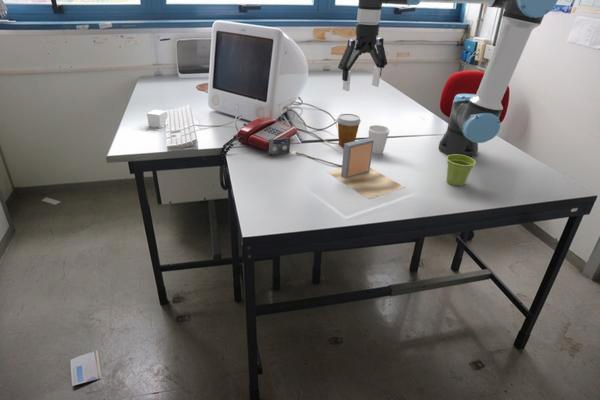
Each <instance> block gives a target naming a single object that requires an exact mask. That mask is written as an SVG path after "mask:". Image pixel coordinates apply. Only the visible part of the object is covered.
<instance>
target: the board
mask: <svg viewBox="0 0 600 400" xmlns="http://www.w3.org/2000/svg"><path fill="white" fill-rule="evenodd" d="M341 172H342V167H341V168H336V169H333V170H329V171H326V173H328V174H329V175H331V177H334V178H336V179H337V180H338V181H340V182H341V183H343V184H345V185H346V186H348V187H349V188H351V189H352V190H354V191H356V193H359V194H360V195H362V196H364V197H365V198H366V199H368V200H371V199H374V198H378V197H380V196H383V195H385V194H388V193H391V192H395V191H398V190H400V189H404V188H405V186H404V185H402V184H400V183H398V181H397V182H396V181H394V180H393V179H391V178H390V177H388V176H386V175H384V174H382V173H381V172H378V171H376V170H375V169H374V168H372V167H370V171H369V172H367V173H363V174H360V175H356V176H353V177H349V178H346V179H345V178H344V177H342V176H341Z"/></svg>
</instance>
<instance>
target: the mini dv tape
mask: <svg viewBox="0 0 600 400" xmlns="http://www.w3.org/2000/svg"><path fill="white" fill-rule="evenodd" d="M268 143H269V150H268V149H267V150H268V152H267V154H268V155H269V156H270V154H272V155H278V154H289V153H290V152H291V151H290V150H291V149H290V147H291V138H290V137H289V136H287V137H277V138H270V139H268ZM288 152H289V153H288Z"/></svg>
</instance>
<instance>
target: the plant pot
mask: <svg viewBox="0 0 600 400" xmlns="http://www.w3.org/2000/svg"><path fill="white" fill-rule="evenodd" d="M446 161H447V169H446V170H447V171H446V172H447V173H446V181H447V183H448V184H449V185H452V186H454V187H455V186H460V187H462V186H464V185H465V184H466V181H467V179H468V177H469V175H470V172H471V170H472V168H473V167H474V166H475V164H476V162H477V161H476V160H475V159H474V158H473V157H468V156H465V155H459V154H453V155H447V156H446Z"/></svg>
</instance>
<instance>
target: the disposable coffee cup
mask: <svg viewBox="0 0 600 400" xmlns="http://www.w3.org/2000/svg"><path fill="white" fill-rule="evenodd" d="M336 121H337V130H338V131H337V132H338V133H337V134H338V135H337V136H338V146H339V147H341V148H344V144H345V143H349V142H353V141H356V140H357V139H356V138H357V135H358V130H359V127H360V124H361V121H362V120H361V117H360V116H359V115H357V114H353V113H341V114H339V115H338V116H337V118H336Z"/></svg>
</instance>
